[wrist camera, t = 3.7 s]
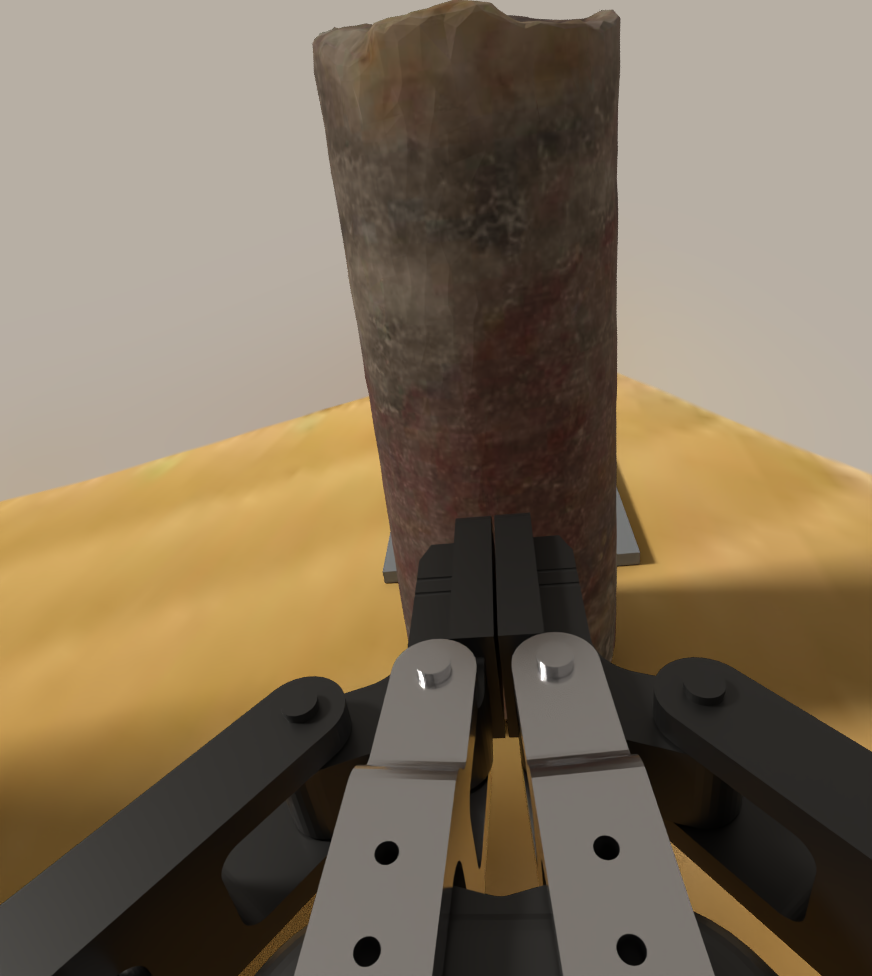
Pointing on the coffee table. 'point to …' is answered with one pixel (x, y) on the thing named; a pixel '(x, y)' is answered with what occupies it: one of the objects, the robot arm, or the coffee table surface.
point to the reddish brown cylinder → (484, 272)
